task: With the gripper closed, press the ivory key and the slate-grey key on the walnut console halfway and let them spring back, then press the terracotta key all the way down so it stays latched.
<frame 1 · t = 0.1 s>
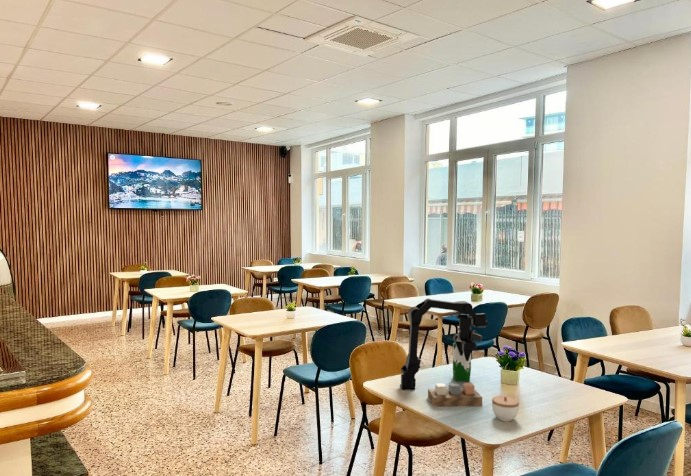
hand: (464, 358, 241), 15 cm above the table, tool pointing down, fingers open, 9 cm apart
lidded jar: (504, 418, 204), on the table
ivory key: (440, 389, 221), point 6 cm above the table, slide at 0.2 cm
slate key: (454, 389, 222), point 6 cm above the table, slide at 0.2 cm
terracotta key: (468, 388, 222), point 6 cm above the table, slide at 0.0 cm
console: (454, 401, 222), on the table
milk carton: (461, 379, 254), on the table
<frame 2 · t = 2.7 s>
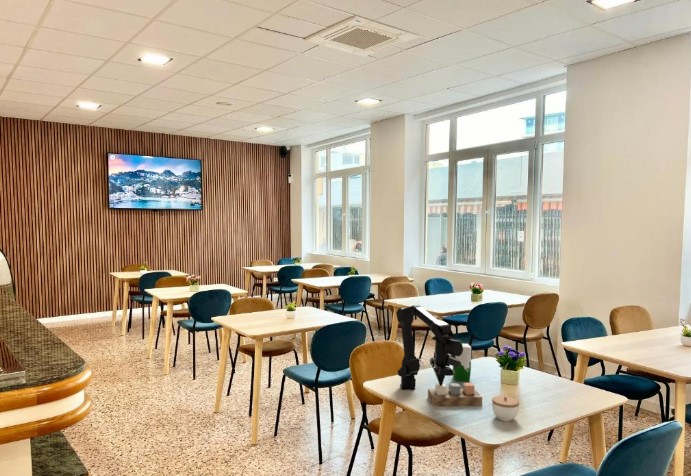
hand: (440, 384, 221), 8 cm above the table, tool pointing down, fingers closed, pressing on ivory key
ivory key: (440, 389, 221), point 6 cm above the table, slide at 0.2 cm, touching gripper
everything else where it was.
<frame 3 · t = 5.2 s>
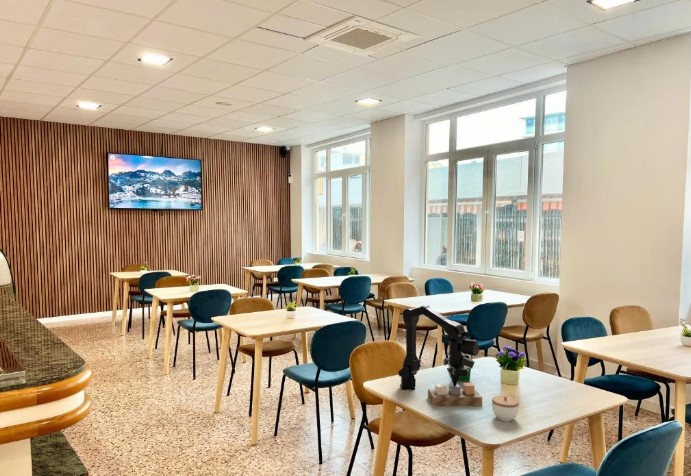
hand: (454, 385, 222), 8 cm above the table, tool pointing down, fingers closed, pressing on slate key
ivory key: (440, 389, 221), point 6 cm above the table, slide at 0.4 cm
slate key: (454, 389, 222), point 6 cm above the table, slide at 0.4 cm, touching gripper
everything else where it was.
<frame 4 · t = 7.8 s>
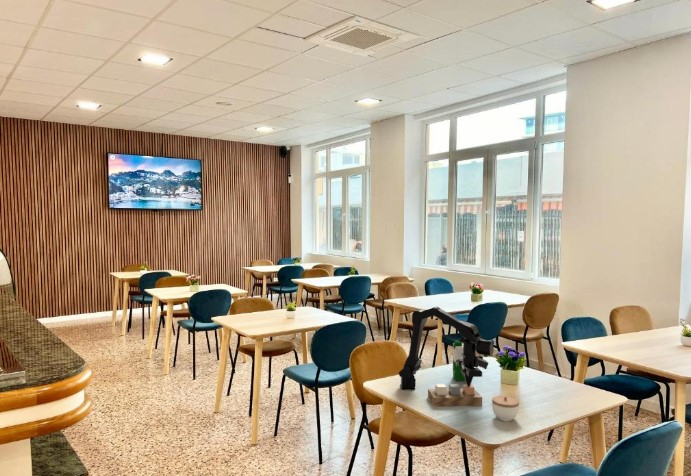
hand: (468, 386, 222), 7 cm above the table, tool pointing down, fingers closed, pressing on terracotta key
slate key: (454, 389, 222), point 6 cm above the table, slide at 0.4 cm
terracotta key: (468, 390, 222), point 5 cm above the table, slide at 0.8 cm, touching gripper
everything else where it was.
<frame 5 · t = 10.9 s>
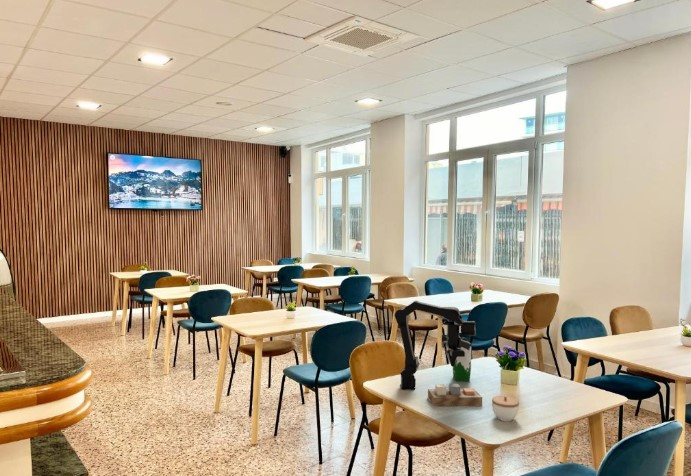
hand: (452, 366, 233), 13 cm above the table, tool pointing down, fingers closed
terracotta key: (468, 394, 222), point 3 cm above the table, slide at 2.6 cm
everything else where it was.
at the end: terracotta key slide at 2.6 cm; ivory key slide at 0.4 cm; slate key slide at 0.4 cm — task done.
